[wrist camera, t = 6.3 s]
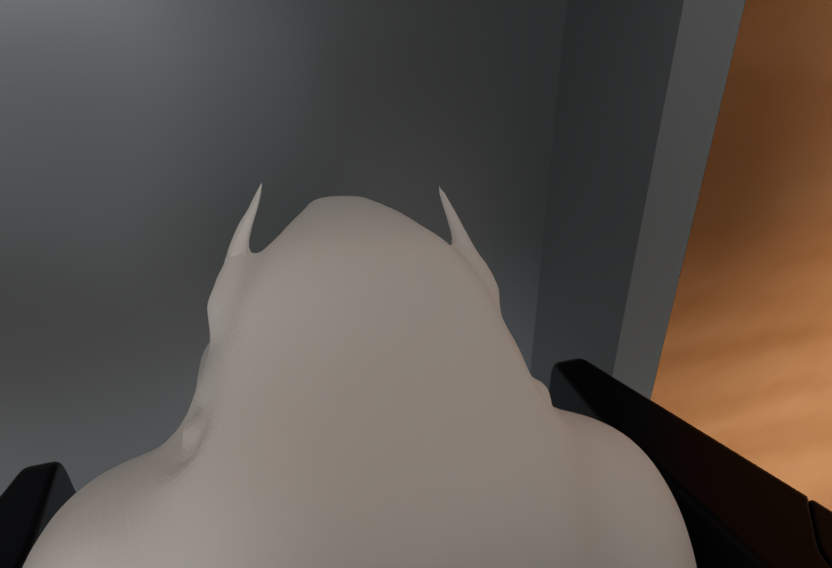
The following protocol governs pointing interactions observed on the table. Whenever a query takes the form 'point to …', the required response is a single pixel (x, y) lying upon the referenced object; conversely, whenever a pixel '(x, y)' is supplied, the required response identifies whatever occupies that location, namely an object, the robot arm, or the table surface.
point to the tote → (330, 178)
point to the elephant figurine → (369, 426)
